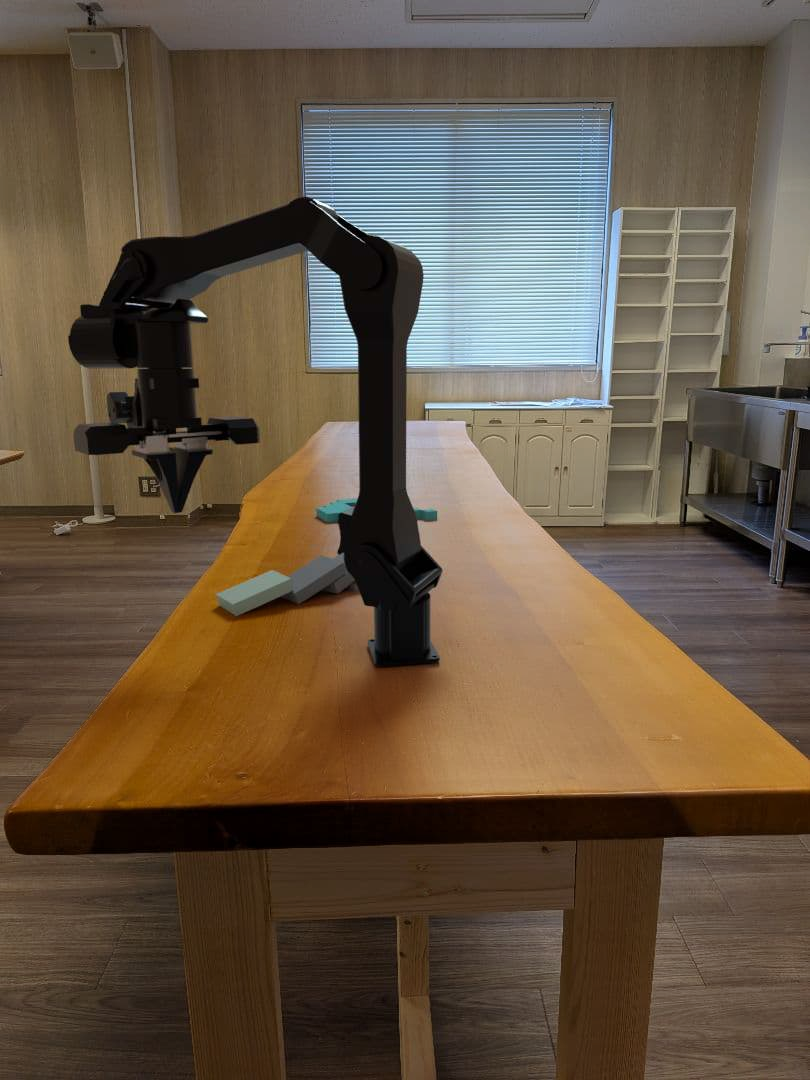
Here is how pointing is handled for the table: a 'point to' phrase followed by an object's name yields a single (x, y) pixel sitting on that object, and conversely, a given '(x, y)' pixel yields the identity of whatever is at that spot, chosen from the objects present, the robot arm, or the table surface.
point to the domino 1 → (314, 578)
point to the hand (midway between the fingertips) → (176, 512)
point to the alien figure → (333, 510)
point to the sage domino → (254, 592)
